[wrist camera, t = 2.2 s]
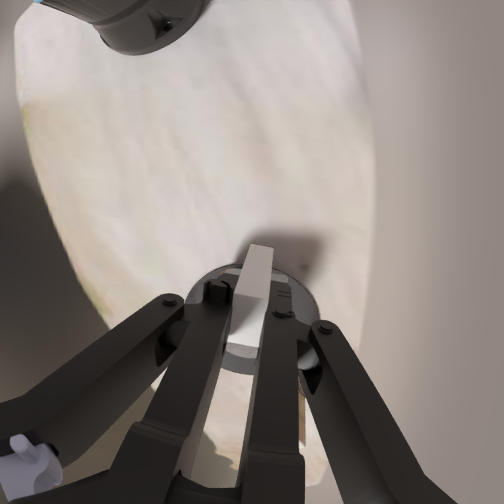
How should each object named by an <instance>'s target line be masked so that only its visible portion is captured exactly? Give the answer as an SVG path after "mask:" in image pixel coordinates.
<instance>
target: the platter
mask: <svg viewBox="0 0 504 504" xmlns="http://www.w3.org/2000/svg"><path fill="white" fill-rule="evenodd" d="M243 265H244V264H237V265H230V266H226V267H222V268H219V269H217V270H214V271H212V272H210V273H209V274H207V275H205V276H204V277H203V278H202V279H200V280H199V281H198V282H197V283H196V284H195V285H194V286H193V288H192V289H191V291H190V292H189V294H188V296H187V298H186V301H185V304H198V303H201V301H202V299H203V286H204V282H205V281H206V280H209V279H217V278H218V276H219V275H220V274H221V272H222V271H224V270H225V269H234V268H236V269H242V268H243ZM271 273H272V274H279V275H286V276H288V284H289V286H290V287H291V292H292V293H291V294H292V311H294V313H295V315H296V319H297V320H299V321H300V322H302V323H304V324H307V325H310V326H311V325H312V323H313V322H314V321H316V320H319V317H318V313H317V308H316V306H315V304H314V301H313V299H312V298H311V296H310V295H309V293H308V292H307V291H306V290H305V288H304V287H303V286H302V285H301V284H299V283H298V282H297V281H296V280H295V279H293V278H292V277H290V276H289V275H287V274H285V273H283V272H281V271H279V270H276V269H273V268H272V272H271ZM257 352H258V347H253V346H247V345H242V344H236V343H231V342H228V339H227V345H226V351H225V354H224V358H223V361H222V365H221V368H223V369H226V370H229V371H232V372H235V373H240V374H246V375H254V371H255V366H254V365H255V361H256V356H257Z"/></svg>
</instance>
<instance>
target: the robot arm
mask: <svg viewBox="0 0 504 504" xmlns="http://www.w3.org/2000/svg"><path fill="white" fill-rule="evenodd" d="M34 2H35V3H40V4H43V5H46V6H49V7H51V8H54V9H57V10H59V11H62V12H65V13H67V14H70V15H72V16H74V17H77V18H79V19H81V20H84V21H86V22H88V23H90V24H92V25H93V27H94V28H95V29H96V30H97V31H98V33H99V34H100V37H101V39H102V40H103V42H104V43H105V44H106V45H107V46H108V47H109V48H111V49H113V50H115V51H117V52H119V53H121V54H125V55H132V56H135V55H144V54H148V53H151V52H154V51H157V50H159V49H161V48H163V47H165V46H167V45H169V44H171V43H172V42H174V41H175V40H177V39H178V38H179V37H181V36H182V35H183V34H184V33H185V32H186V31H187V30H188V29H189V28H190V27H191V26H192V25H193V23H194V22H195V21H196V19H197V18H198V16H199V14H200V12H201V10H202V7H203V3H204V0H34ZM273 250H274V248H272V247H266V246H260V245H255V244H250V247H249V250H248V253H247V256H246V259H245V262H244V265H243V268H242V271H241V274H240V275H235V274H229V273H223V274H221V275H219V276H218V278H217V279H209V280H206V281H205V282H204V286H203V299H202V301H201V303H198V304H184V299H183V298H182V297H181V296H179V295H176V294H172V293H171V294H170V293H167V294H162V295H160V296H158V297H156V298H155V299H153V300H152V301H151V302H149V303H148V304H146V305H145V306H143V307H142V308H141V309H139V310H138V311H136V312H135V313H134V314H132V315H131V316H129V317H128V318H127V319H125V320H124V321H123V322H121V323H120V324H118V325H117V326H116V327H114V328H113V329H111V330H110V331H109V332H107V333H106V334H105V335H103V336H102V337H100V338H99V339H98V340H96V341H95V342H94V343H92V344H91V345H90V346H88V347H87V348H86V349H84V350H83V351H81V352H80V353H79V354H77V355H76V356H75V357H74V358H72V359H71V360H69V361H68V362H67V363H65V364H64V365H63V366H61V367H60V368H59V369H57V370H56V371H55V372H53V373H52V374H51V375H49V376H48V377H47V378H45V379H44V380H43V381H42V382H40V383H39V384H37V385H36V386H35V387H33V388H32V389H31V390H29V391H28V392H27V393H26V394H25V395H23V396H20V397H17V398H14V399H11V400H8V401H5V402H2V403H0V482H1V485H2V487H3V490H4V492H5V494H6V496H7V499H8V501H9V502H8V503H7V504H305V459H304V457H303V455H301V454H300V453H299V392H298V376H299V379H300V382H301V385H302V388H303V390H304V393H305V396H306V399H307V402H308V404H309V407H310V410H311V413H312V416H313V418H314V421H315V424H316V427H317V430H318V432H319V435H320V438H321V441H322V444H323V446H324V449H325V452H326V455H327V458H328V460H329V463H330V466H331V469H332V472H333V474H334V477H335V480H336V483H337V486H338V488H339V491H340V494H341V497H342V500H343V503H344V504H457V503H456V502H455V501H454V500H453V499H452V498H450V497H449V496H448V495H447V494H446V493H444V492H443V491H442V490H441V489H440V488H439V487H438V486H437V485H435V484H434V483H433V482H432V481H431V480H430V479H429V478H428V477H427V476H425V474H424V473H423V471H422V469H421V467H420V465H419V463H418V462H417V459H416V458H415V456H414V454H413V452H412V450H411V449H410V447H409V445H408V443H407V441H406V440H405V438H404V436H403V434H402V432H401V431H400V429H399V427H398V425H397V424H396V422H395V420H394V418H393V417H392V415H391V413H390V411H389V410H388V408H387V406H386V404H385V403H384V401H383V399H382V398H381V396H380V394H379V393H378V391H377V389H376V387H375V386H374V384H373V382H372V381H371V379H370V378H369V376H368V374H367V373H366V371H365V369H364V368H363V366H362V364H361V363H360V361H359V359H358V358H357V356H356V354H355V353H354V351H353V350H352V348H351V346H350V345H349V343H348V341H347V340H346V338H345V337H344V335H343V333H342V332H341V330H340V329H339V327H338V326H337V325H335V324H334V323H332V322H330V321H327V320H316V321H314V322H313V323H312V325H311V326H310V325H307V324H304V323H302V322H300V321H299V320H297V319H296V315H295V313H294V311H292V294H291V293H292V292H291V287H290V286H289V284H288V283H284V282H278V281H273V280H271V272H272V261H273ZM227 339H228V342H231V343H236V344H242V345H247V346H253V347H258V352H257V356H256V361H255V365H254V366H255V371H254V377H253V384H252V391H251V397H250V403H249V410H248V416H247V422H246V428H245V435H244V441H243V447H242V453H241V458H240V464H239V470H238V476H237V481H236V485H235V488H207V487H204V486H202V485H200V484H198V483H195V482H193V481H191V480H190V478H191V472H192V467H193V463H194V460H195V456H196V453H197V449H198V446H199V442H200V439H201V435H202V432H203V428H204V425H205V421H206V418H207V414H208V411H209V407H210V404H211V400H212V397H213V393H214V390H215V386H216V383H217V379H218V376H219V372H220V368H221V365H222V361H223V358H224V354H225V351H226V345H227ZM167 367H168V368H167ZM166 368H167V370H166V372H165V374H164V376H163V378H162V380H161V382H160V384H159V386H158V388H157V390H156V392H155V394H154V397H153V399H152V401H151V403H150V405H149V407H148V409H147V411H146V413H145V415H144V417H143V419H142V421H140V422H135V423H133V424H132V425H131V427H130V429H129V430H128V432H127V434H126V436H125V439H124V440H123V443H122V445H121V447H120V449H119V451H118V453H117V455H116V457H115V459H114V461H113V463H112V465H111V467H110V469H108V470H105V471H102V472H99V473H97V474H94V475H92V476H90V477H87V478H84V479H81V480H79V481H76V482H73V483H70V484H68V485H64V486H61V487H58V488H55V489H52V490H51V488H52V487H53V486H54V485H59V484H61V482H62V479H63V478H62V468H64V467H66V466H68V465H70V464H71V463H73V462H74V461H76V460H77V459H78V458H79V457H80V456H82V455H83V454H84V453H85V452H86V451H87V450H88V449H89V448H90V447H91V446H92V445H93V444H94V443H95V442H96V441H97V440H98V439H99V438H100V437H101V436H102V435H103V434H104V433H105V432H106V430H108V429H109V428H110V426H111V425H113V424H114V422H116V420H117V419H118V418H119V417H120V416H121V415H122V414H123V413H124V412H125V411H126V410H127V409H128V408H129V407H130V406H131V405H132V404H133V403H134V402H135V401H136V400H137V399H138V398H139V397H140V395H141V394H142V393H143V392H144V391H145V390H146V389H147V388H148V387H149V386H150V385H151V384H152V383H153V382H154V381H155V380H156V379H157V378H158V377H159V376H160V374H161V373H162V372H163V371H164V370H165V369H166Z"/></svg>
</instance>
